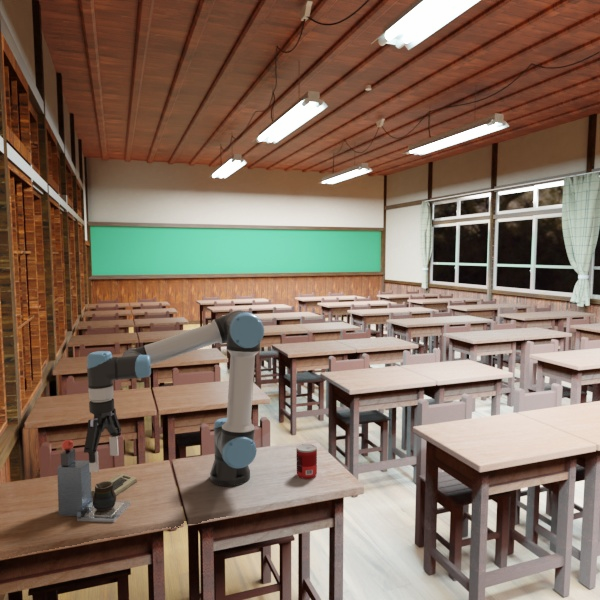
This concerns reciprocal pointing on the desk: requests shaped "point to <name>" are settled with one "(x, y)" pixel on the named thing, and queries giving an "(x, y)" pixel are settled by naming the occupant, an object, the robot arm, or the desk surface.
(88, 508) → the press
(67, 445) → the lever
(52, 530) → the desk surface
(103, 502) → the mate gourd
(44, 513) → the desk surface
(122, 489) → the computer
